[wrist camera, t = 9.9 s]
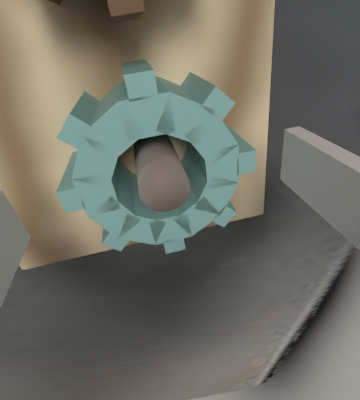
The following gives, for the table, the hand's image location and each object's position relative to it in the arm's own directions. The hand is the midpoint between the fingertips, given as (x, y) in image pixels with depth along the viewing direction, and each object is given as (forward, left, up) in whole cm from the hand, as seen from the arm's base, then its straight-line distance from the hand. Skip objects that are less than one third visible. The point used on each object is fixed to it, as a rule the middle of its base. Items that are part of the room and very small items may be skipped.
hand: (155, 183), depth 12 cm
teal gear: (0, 0, -5) cm, 5 cm away
